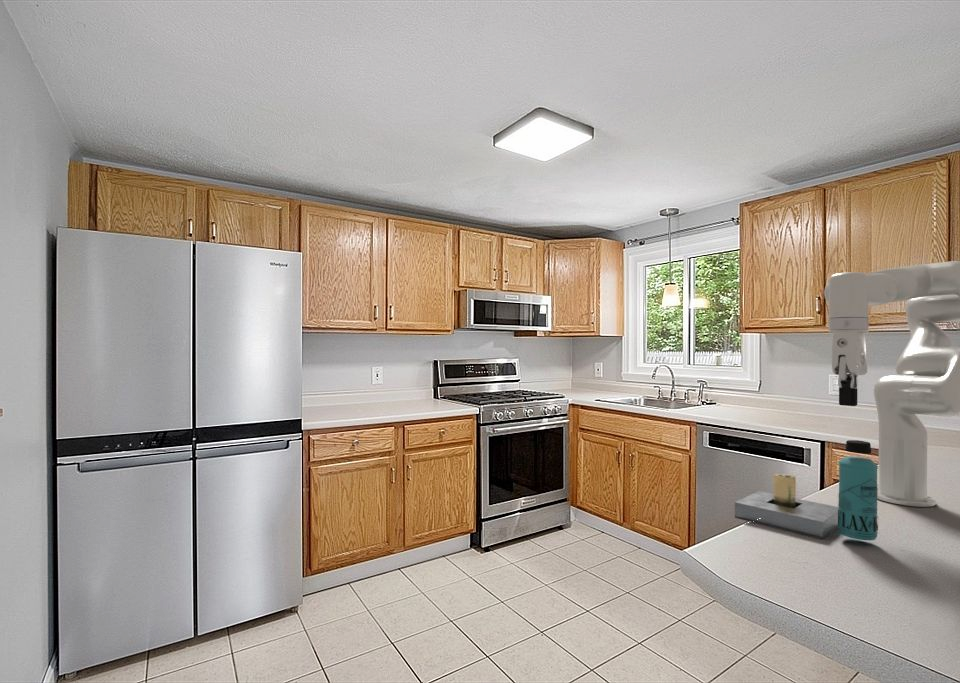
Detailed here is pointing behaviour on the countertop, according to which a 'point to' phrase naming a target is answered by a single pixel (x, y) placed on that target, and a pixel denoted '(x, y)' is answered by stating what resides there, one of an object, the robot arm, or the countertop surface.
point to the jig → (788, 515)
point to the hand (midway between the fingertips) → (848, 405)
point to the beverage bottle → (858, 493)
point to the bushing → (785, 490)
